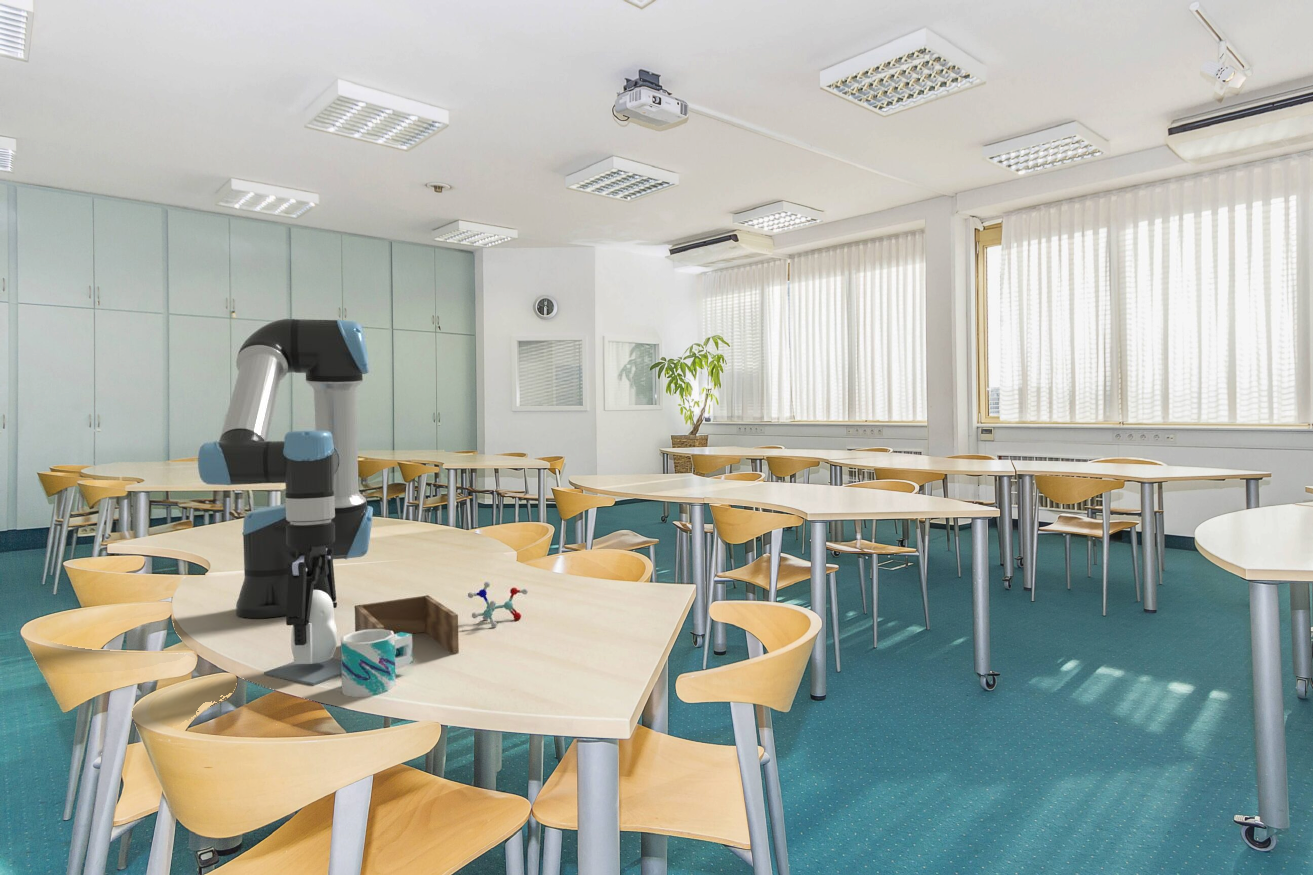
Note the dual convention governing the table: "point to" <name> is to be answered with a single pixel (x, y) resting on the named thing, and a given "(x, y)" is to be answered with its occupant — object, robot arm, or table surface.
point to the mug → (373, 660)
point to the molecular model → (491, 605)
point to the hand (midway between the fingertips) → (313, 654)
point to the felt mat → (308, 671)
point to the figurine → (321, 627)
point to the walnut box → (411, 619)
